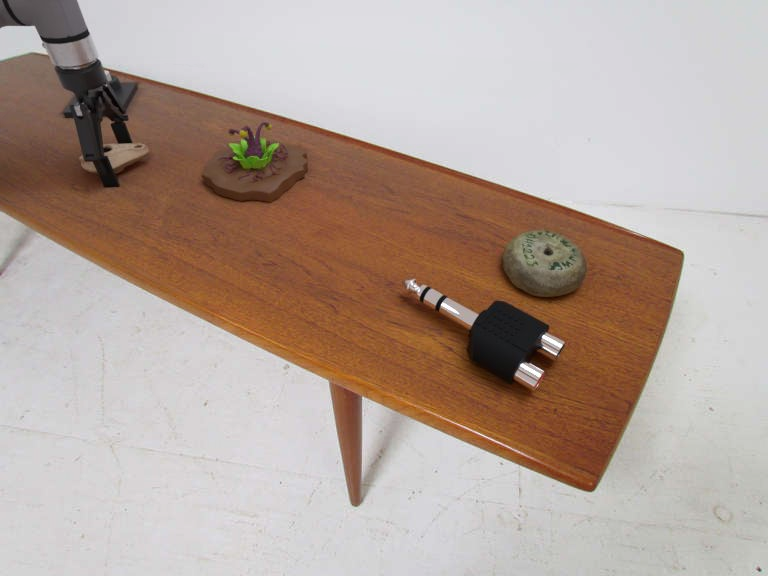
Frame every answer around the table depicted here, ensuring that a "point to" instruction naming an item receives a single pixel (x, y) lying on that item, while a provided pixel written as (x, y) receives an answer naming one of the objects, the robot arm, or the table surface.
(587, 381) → the table surface
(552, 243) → the weight
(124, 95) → the scale
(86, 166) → the pottery oil lamp
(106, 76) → the button
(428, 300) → the audio adapter
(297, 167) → the plant
